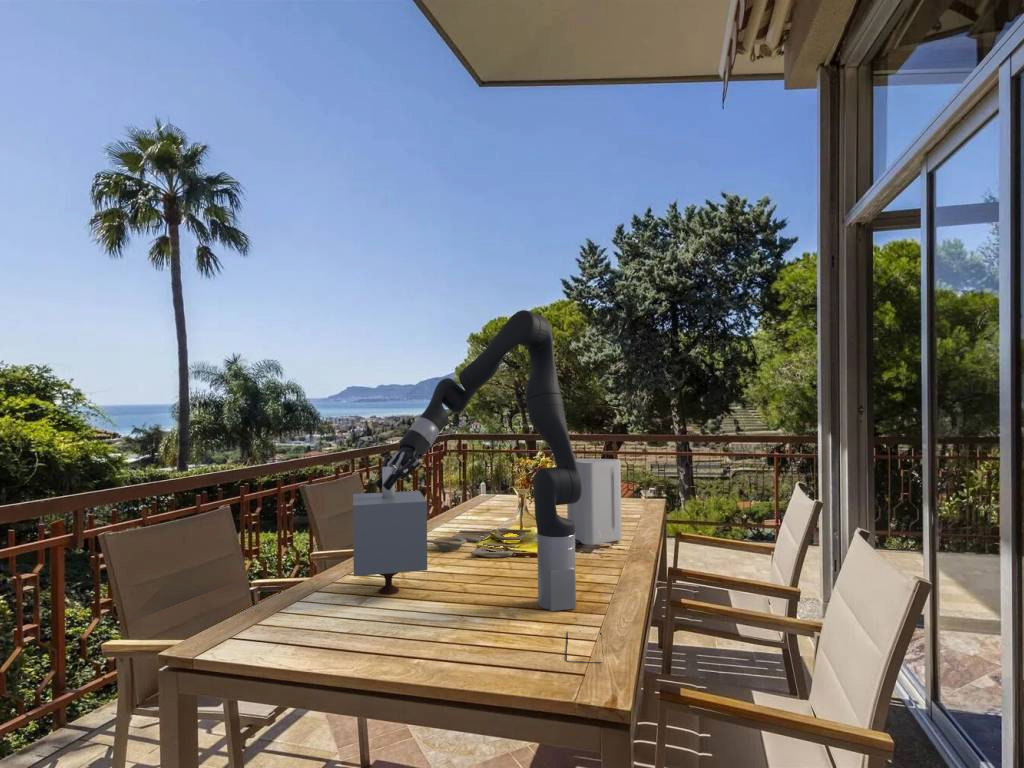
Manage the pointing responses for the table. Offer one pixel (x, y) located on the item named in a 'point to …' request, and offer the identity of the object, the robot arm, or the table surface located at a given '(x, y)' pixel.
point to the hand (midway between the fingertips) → (381, 487)
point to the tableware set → (465, 535)
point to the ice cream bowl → (388, 585)
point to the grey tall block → (598, 502)
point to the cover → (389, 531)
